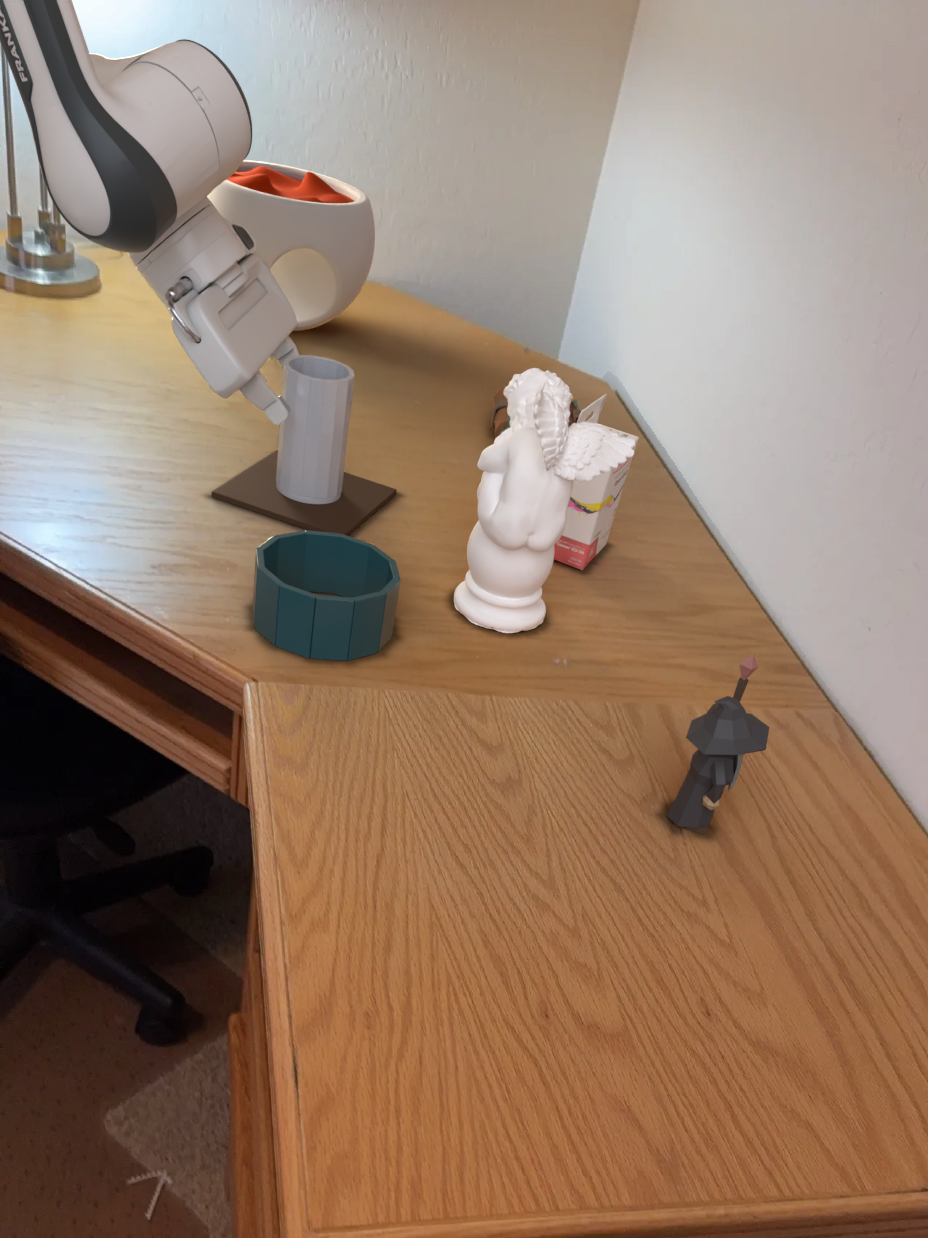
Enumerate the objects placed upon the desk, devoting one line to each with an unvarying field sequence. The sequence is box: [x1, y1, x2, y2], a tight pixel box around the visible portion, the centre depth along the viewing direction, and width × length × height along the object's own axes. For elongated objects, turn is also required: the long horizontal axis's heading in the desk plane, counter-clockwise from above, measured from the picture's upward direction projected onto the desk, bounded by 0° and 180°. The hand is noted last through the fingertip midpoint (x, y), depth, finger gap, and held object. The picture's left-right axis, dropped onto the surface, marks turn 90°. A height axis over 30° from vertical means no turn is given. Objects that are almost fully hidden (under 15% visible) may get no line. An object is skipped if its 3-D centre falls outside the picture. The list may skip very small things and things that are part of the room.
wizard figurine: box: [666, 653, 770, 835], centre depth 76 cm, size 8×6×12 cm
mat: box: [211, 449, 398, 536], centre depth 108 cm, size 14×14×1 cm
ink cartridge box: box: [554, 393, 640, 571], centre depth 106 cm, size 9×5×15 cm, turn 157°
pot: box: [207, 159, 376, 332], centre depth 142 cm, size 24×24×18 cm
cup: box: [276, 354, 355, 504], centre depth 104 cm, size 7×7×12 cm
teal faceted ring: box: [252, 529, 402, 662], centre depth 88 cm, size 12×12×6 cm
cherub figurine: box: [453, 367, 635, 634], centre depth 90 cm, size 12×12×22 cm
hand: (295, 403), depth 102 cm, fingers open, 8 cm apart
